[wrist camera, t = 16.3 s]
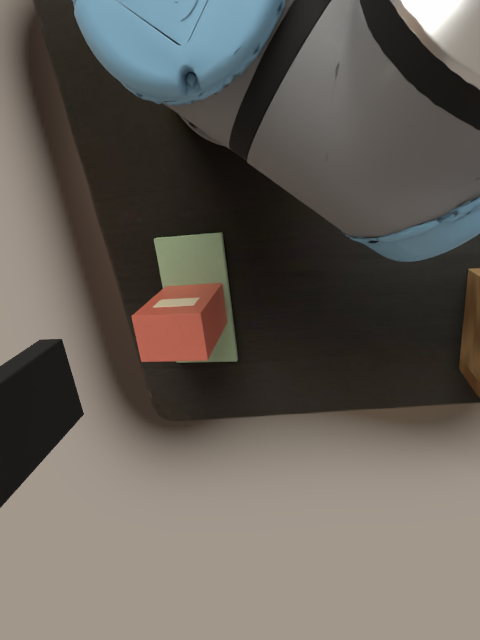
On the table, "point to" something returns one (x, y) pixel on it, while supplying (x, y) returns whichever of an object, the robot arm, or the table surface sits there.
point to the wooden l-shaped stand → (471, 332)
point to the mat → (199, 277)
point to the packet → (181, 323)
